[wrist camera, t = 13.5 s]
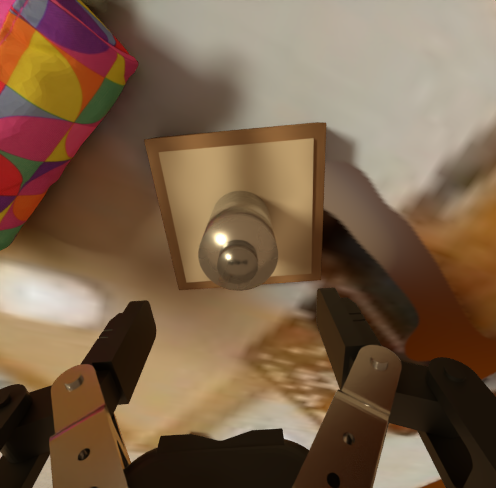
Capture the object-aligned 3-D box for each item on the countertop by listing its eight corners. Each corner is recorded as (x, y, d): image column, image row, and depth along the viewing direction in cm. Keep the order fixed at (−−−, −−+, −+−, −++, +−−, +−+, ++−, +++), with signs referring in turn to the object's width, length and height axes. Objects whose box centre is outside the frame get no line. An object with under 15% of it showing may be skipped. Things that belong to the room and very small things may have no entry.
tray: (185, 274, 29) (178, 291, 26) (156, 137, 23) (142, 139, 20) (313, 264, 29) (321, 281, 26) (317, 122, 23) (327, 122, 20)
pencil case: (50, -54, 18) (-109, -194, 10) (162, 58, 21) (108, 19, 13) (-56, 178, 25) (-203, 206, 17) (39, 240, 28) (-47, 291, 20)
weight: (216, 247, 24) (202, 304, 17) (207, 193, 22) (187, 230, 15) (271, 243, 24) (281, 298, 17) (268, 188, 22) (278, 223, 14)
